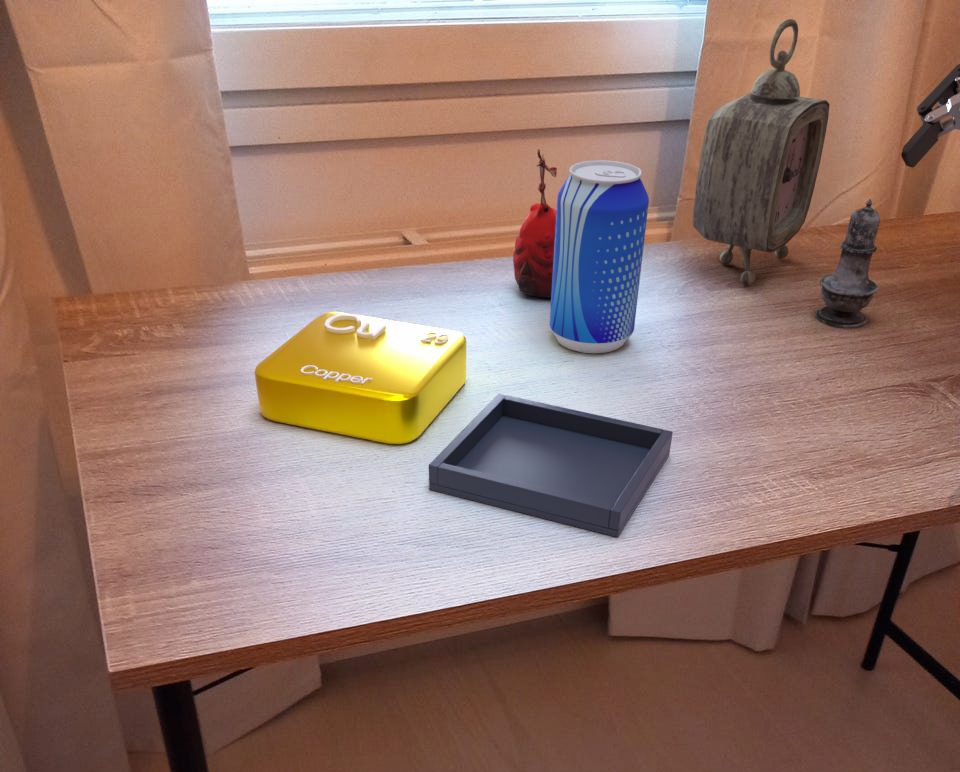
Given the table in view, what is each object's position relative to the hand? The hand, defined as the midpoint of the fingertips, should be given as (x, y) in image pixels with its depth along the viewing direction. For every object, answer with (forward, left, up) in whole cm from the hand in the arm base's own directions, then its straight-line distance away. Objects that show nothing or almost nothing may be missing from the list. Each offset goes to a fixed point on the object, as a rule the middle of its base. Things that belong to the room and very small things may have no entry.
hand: (936, 172), depth 102 cm
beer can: (+27, +23, -14) cm, 38 cm away
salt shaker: (+5, +6, -14) cm, 16 cm away
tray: (+21, +49, -14) cm, 55 cm away
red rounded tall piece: (+36, +13, -14) cm, 41 cm away
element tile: (+41, +44, -14) cm, 62 cm away
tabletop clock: (+18, -4, -14) cm, 23 cm away
